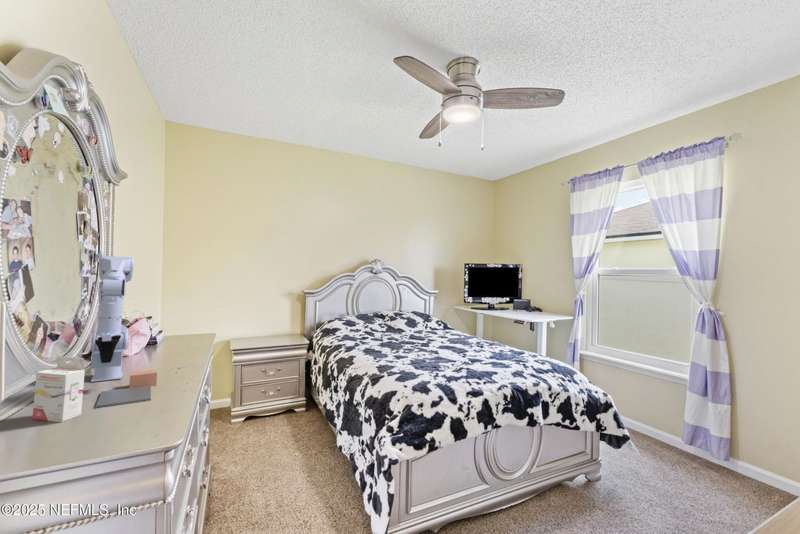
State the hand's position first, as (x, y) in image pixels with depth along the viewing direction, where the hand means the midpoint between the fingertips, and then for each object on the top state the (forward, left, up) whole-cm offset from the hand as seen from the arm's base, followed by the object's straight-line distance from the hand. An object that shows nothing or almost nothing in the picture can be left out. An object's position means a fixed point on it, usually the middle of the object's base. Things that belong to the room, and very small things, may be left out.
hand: (106, 360), depth 106 cm
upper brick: (0, +10, -9) cm, 13 cm away
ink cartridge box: (+20, -7, -9) cm, 23 cm away
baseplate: (+10, +6, -9) cm, 15 cm away
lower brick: (0, 0, -2) cm, 2 cm away
